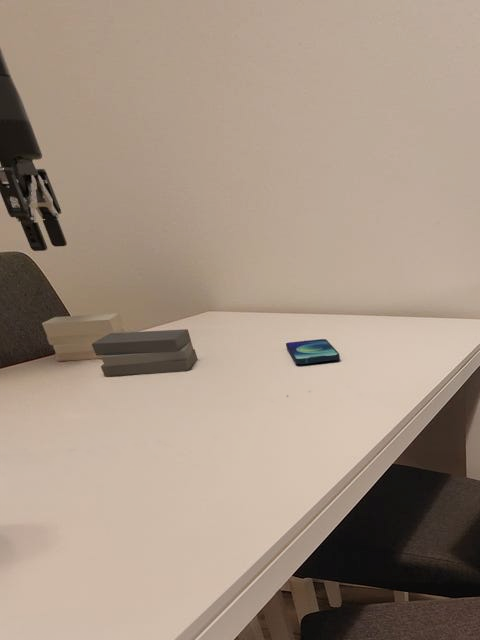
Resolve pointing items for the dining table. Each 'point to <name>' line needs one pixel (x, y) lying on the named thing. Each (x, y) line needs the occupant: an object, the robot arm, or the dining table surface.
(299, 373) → the dining table surface
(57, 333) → the beige flat block
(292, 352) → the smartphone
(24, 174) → the robot arm
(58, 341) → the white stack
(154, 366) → the grey stack
